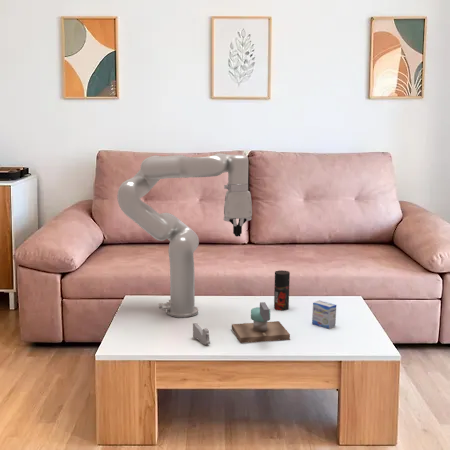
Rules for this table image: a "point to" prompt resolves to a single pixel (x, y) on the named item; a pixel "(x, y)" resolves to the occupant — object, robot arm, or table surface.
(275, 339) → the base
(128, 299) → the table surface
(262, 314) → the lock handle
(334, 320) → the medicine box
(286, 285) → the deodorant
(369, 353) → the table surface
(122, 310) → the table surface
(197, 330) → the grey flat irregular piece
